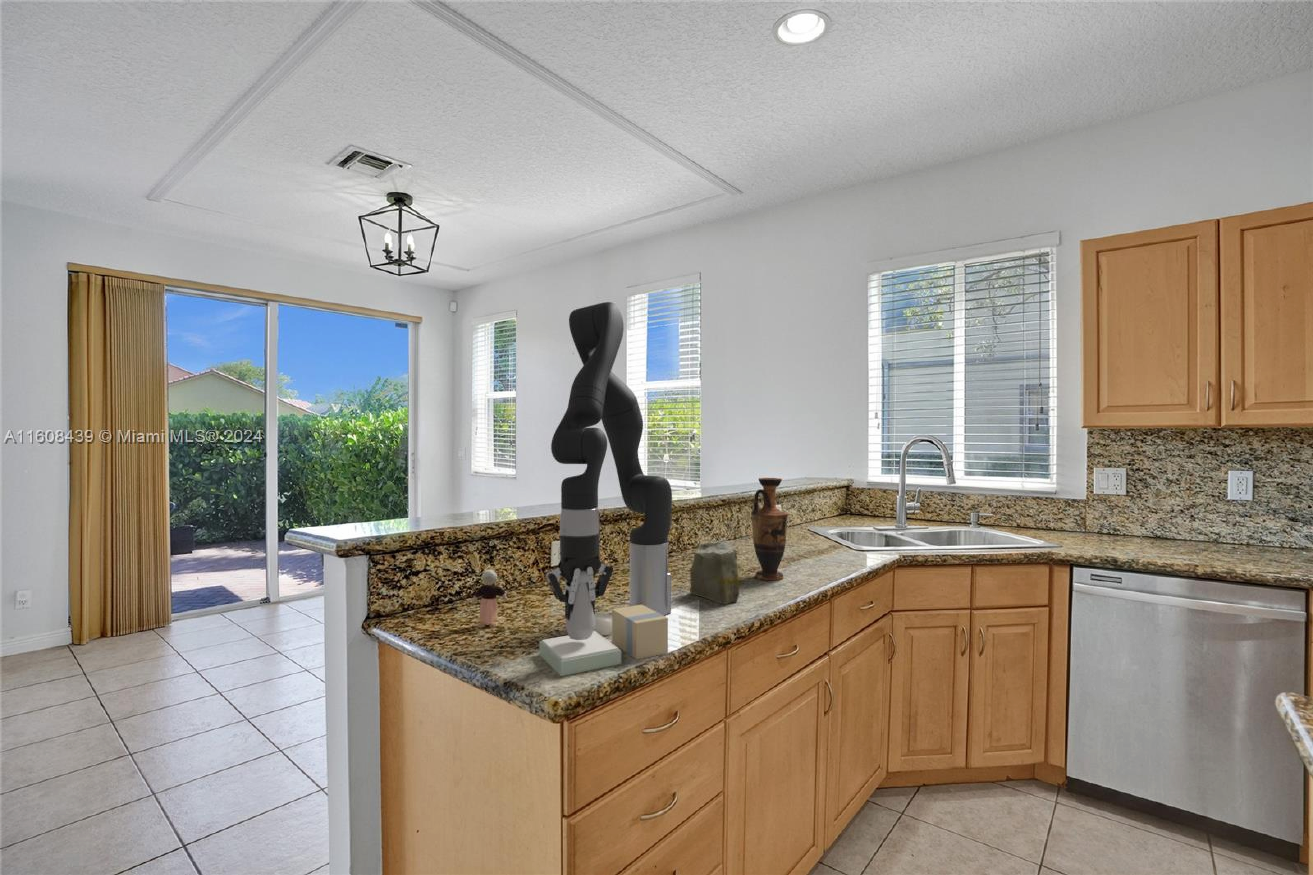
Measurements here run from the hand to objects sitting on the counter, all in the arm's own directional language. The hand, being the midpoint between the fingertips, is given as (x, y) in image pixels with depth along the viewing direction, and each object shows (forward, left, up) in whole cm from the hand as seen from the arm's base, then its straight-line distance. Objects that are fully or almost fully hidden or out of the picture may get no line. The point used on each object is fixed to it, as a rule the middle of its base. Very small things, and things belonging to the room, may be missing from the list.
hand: (579, 620), depth 118 cm
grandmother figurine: (+10, -29, -8) cm, 32 cm away
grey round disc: (-10, -13, -7) cm, 18 cm away
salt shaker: (0, 0, -3) cm, 3 cm away
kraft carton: (-13, 0, -8) cm, 15 cm away
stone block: (-50, -24, -8) cm, 56 cm away
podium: (0, 0, -8) cm, 8 cm away
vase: (-75, -34, -8) cm, 83 cm away
